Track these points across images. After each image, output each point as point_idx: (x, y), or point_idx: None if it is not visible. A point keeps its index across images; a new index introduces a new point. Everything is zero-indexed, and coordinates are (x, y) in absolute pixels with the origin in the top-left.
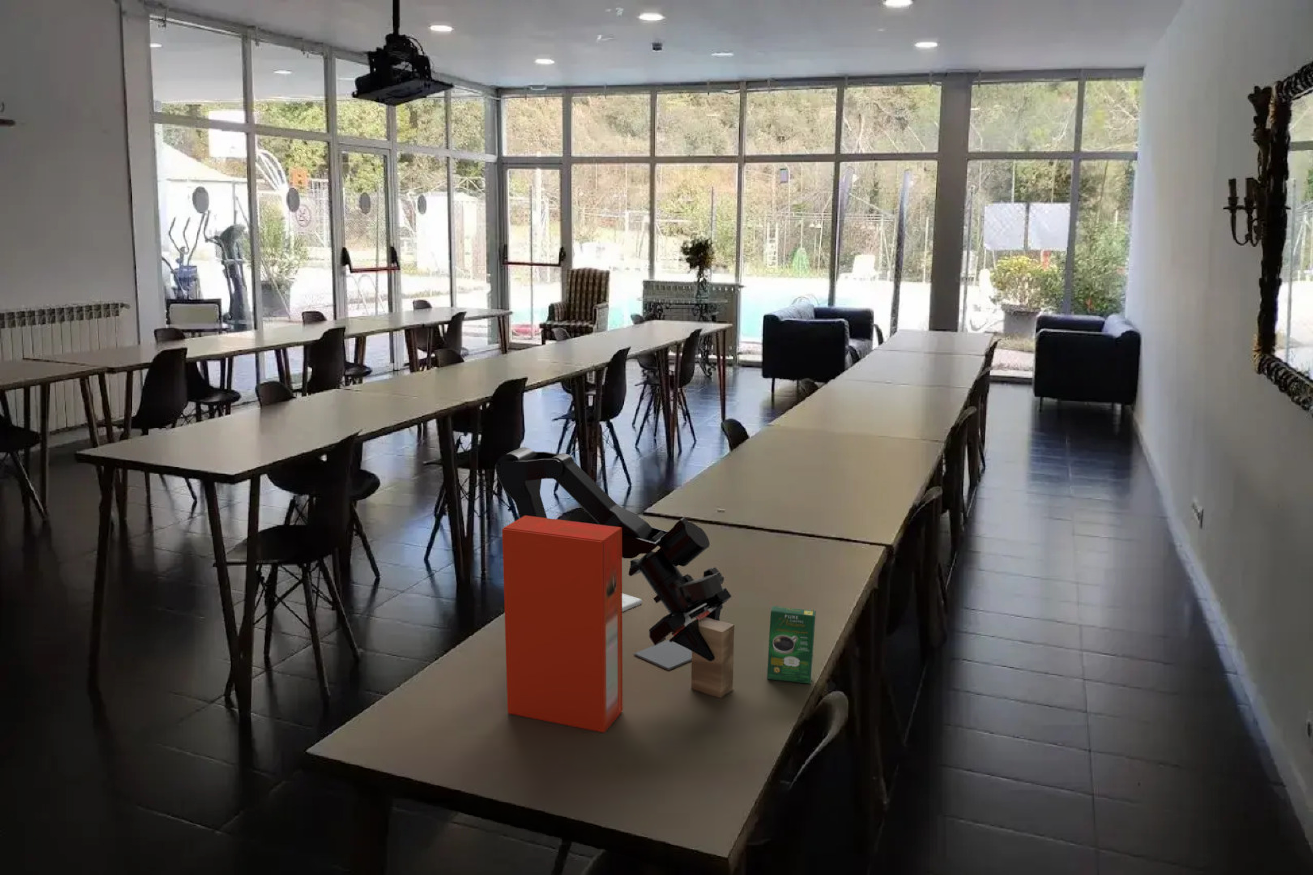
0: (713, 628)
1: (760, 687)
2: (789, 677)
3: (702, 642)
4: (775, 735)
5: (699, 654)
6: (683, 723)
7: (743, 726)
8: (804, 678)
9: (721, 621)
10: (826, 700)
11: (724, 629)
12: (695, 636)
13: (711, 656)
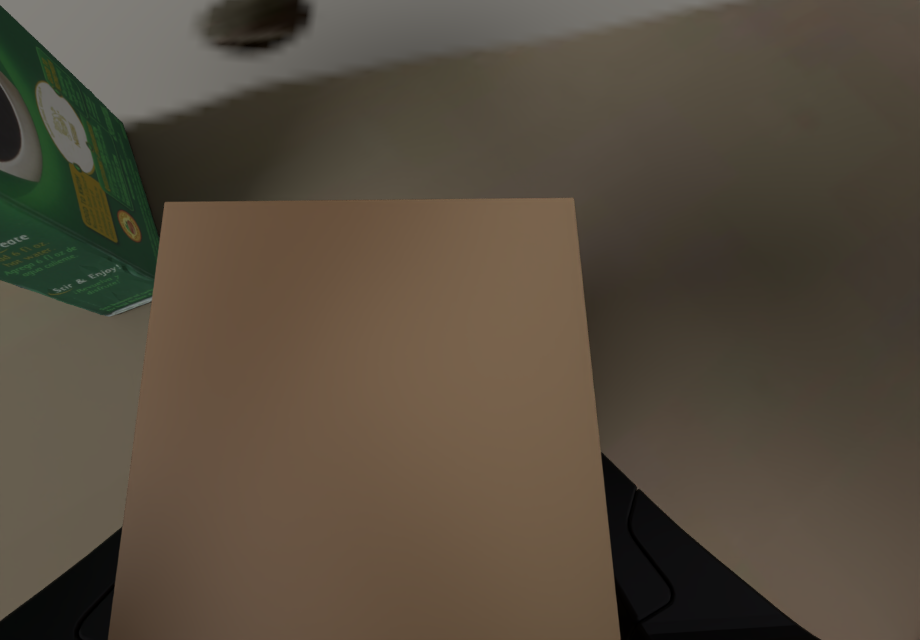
0: (542, 400)
1: None
2: (136, 187)
3: (629, 489)
4: (591, 52)
5: None
6: (766, 358)
7: (616, 163)
8: (114, 129)
9: (133, 482)
10: (233, 25)
11: (455, 223)
12: (751, 595)
13: None
